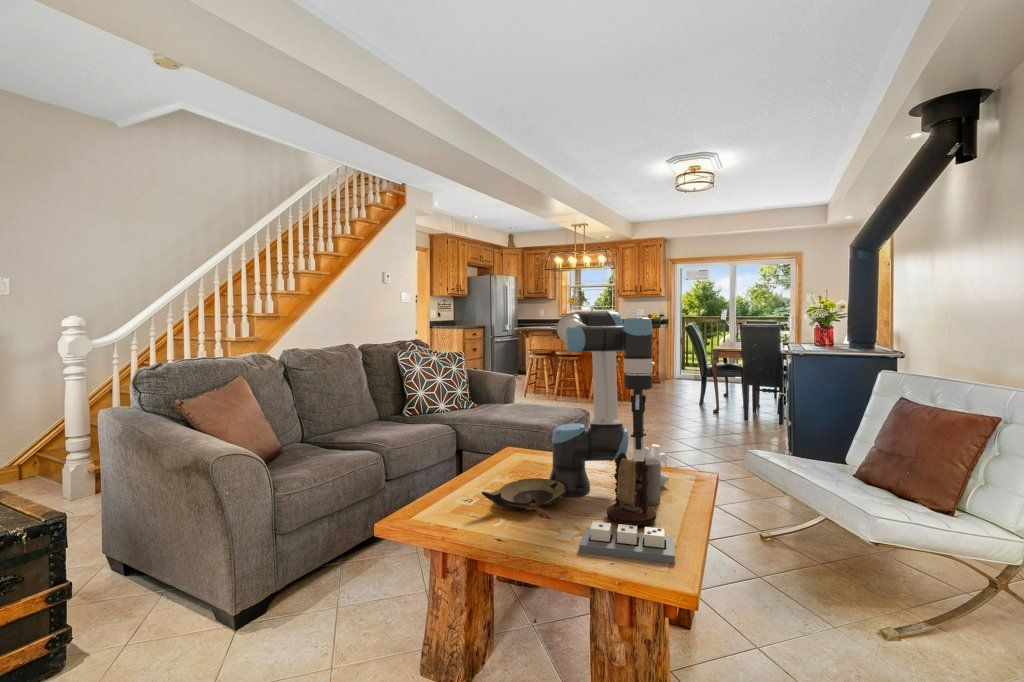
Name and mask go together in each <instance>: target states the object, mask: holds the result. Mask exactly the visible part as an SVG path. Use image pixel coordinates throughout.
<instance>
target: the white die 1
mask: <svg viewBox="0 0 1024 682" xmlns="http://www.w3.org/2000/svg"><path fill="white" fill-rule="evenodd" d="M591 523H592V524H591V526H590V527H591V541H597V542H606V543H609V542H610V543H611V541H610V537H611V530H612V523H610V522H602V521H592V522H591Z"/></svg>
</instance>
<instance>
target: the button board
mask: <svg viewBox="0 0 1024 682" xmlns="http://www.w3.org/2000/svg"><path fill="white" fill-rule="evenodd" d="M644 533H645V532H638V531H637V546H636V545H630V544H627V545H626V544H621V543H617V529H611V537H610V543H609V542H603V541H594V540H591V526H585V528H584V530H583V533H582V537H581V538H580V539H581V540H580V542H579V545H578V546H579V547H578V548H579V549H578V551H579V553H582V554H591V555H599V556H608V557H613V558H614V557H616V558H621V559H622V558H624V559H631V560H640V561H641V560H642V561H647V562H649V561H650V562H657V563H658V562H659V563H665V564H676V552H675V550H676V549H675V539H674V538H675V536H674V535H667V534H666V535H665V534H664V548H665V549H664V548H662V549H661V548H656V547H647V546H644Z"/></svg>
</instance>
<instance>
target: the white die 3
mask: <svg viewBox="0 0 1024 682" xmlns="http://www.w3.org/2000/svg"><path fill="white" fill-rule="evenodd" d="M643 533H644V545H643V547H651V548H660V549H661V548H662V549H664V548H665V547H664V535H665V528H661V527H660V528H659V527H653V526H645V527H644V532H643Z"/></svg>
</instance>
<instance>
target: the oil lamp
mask: <svg viewBox="0 0 1024 682" xmlns="http://www.w3.org/2000/svg"><path fill="white" fill-rule="evenodd" d="M553 486H556V487H555V488H552V487H553ZM565 493H566V487H565V483H561V482H559V481H558V480H551V479H549V478H543V477H542V478H538V477H536V478H534V477H532V478H523V479H518V480H515V481H510V482H508V483H506V484H505V485H503V486H502V487H500V489H496V490H494V491H491V492H488V491H481V495H482V496H483V497H485V498H486V499H488V500H490V501H491V502H493V503H494V504H496V505H497V506H498V507H501V508H505V507H508V506H509V507H516V508H520V509H532V508H533V509H534V508H538V507H544V506H549V505H550V504H553V503H555V502H557V501H559V500H561V499H562V498H563V497H565V496H564V494H565ZM532 502H534V503H532Z"/></svg>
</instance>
